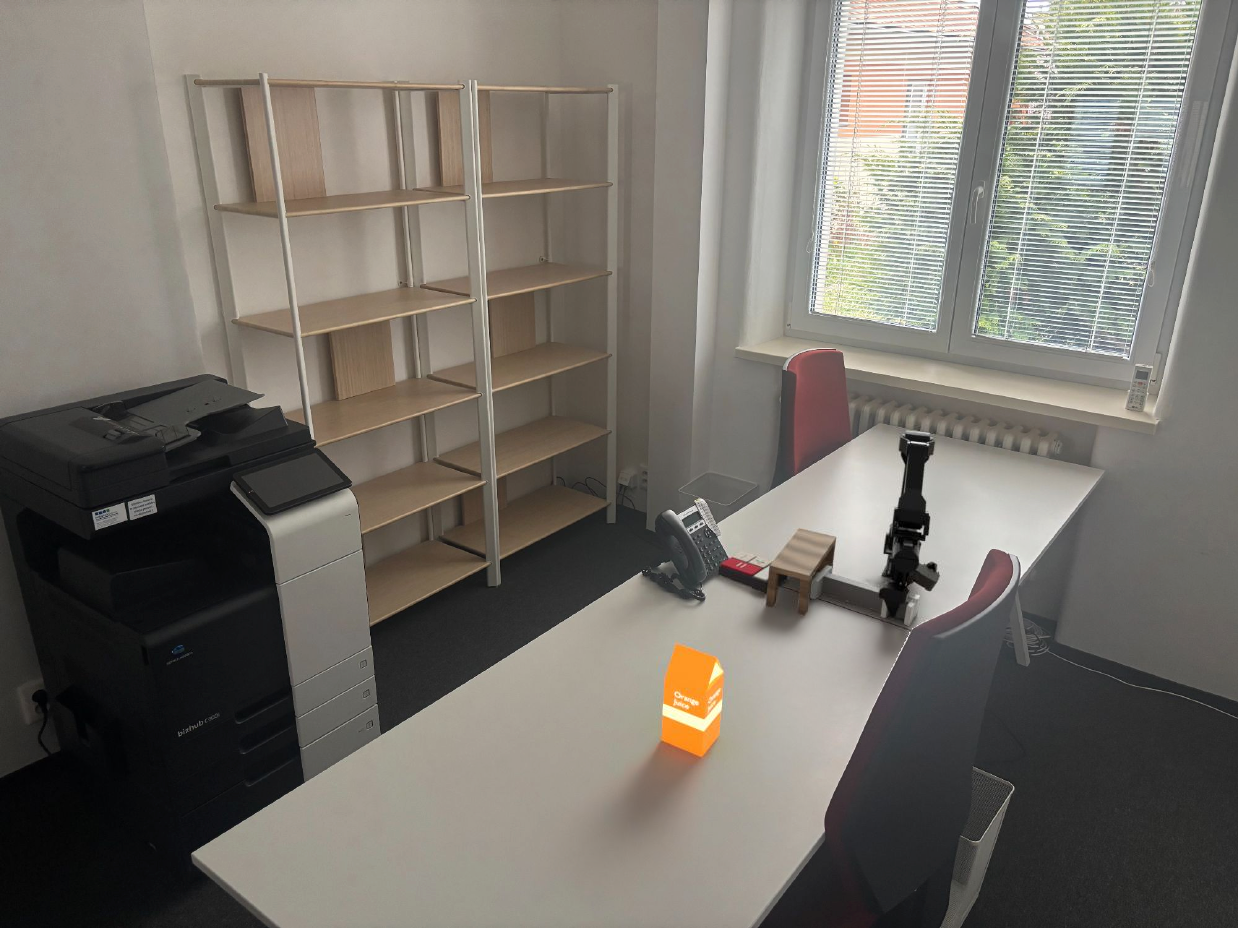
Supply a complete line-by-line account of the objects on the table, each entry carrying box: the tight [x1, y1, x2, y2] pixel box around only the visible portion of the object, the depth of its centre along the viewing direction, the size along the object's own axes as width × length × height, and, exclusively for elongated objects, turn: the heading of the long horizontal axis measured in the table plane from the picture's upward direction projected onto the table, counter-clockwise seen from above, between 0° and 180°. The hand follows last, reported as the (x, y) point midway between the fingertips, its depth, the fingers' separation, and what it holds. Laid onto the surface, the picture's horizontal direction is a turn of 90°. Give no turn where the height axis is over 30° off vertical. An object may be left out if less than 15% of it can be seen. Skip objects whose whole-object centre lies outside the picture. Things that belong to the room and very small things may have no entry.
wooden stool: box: [765, 527, 837, 616], centre depth 221 cm, size 24×10×11 cm, turn 152°
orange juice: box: [661, 642, 725, 758], centre depth 165 cm, size 8×9×20 cm
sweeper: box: [809, 565, 921, 626], centre depth 216 cm, size 10×24×5 cm, turn 56°
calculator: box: [717, 550, 789, 595], centre depth 229 cm, size 11×4×15 cm
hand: (895, 610), depth 213 cm, fingers closed on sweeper, 7 cm apart
